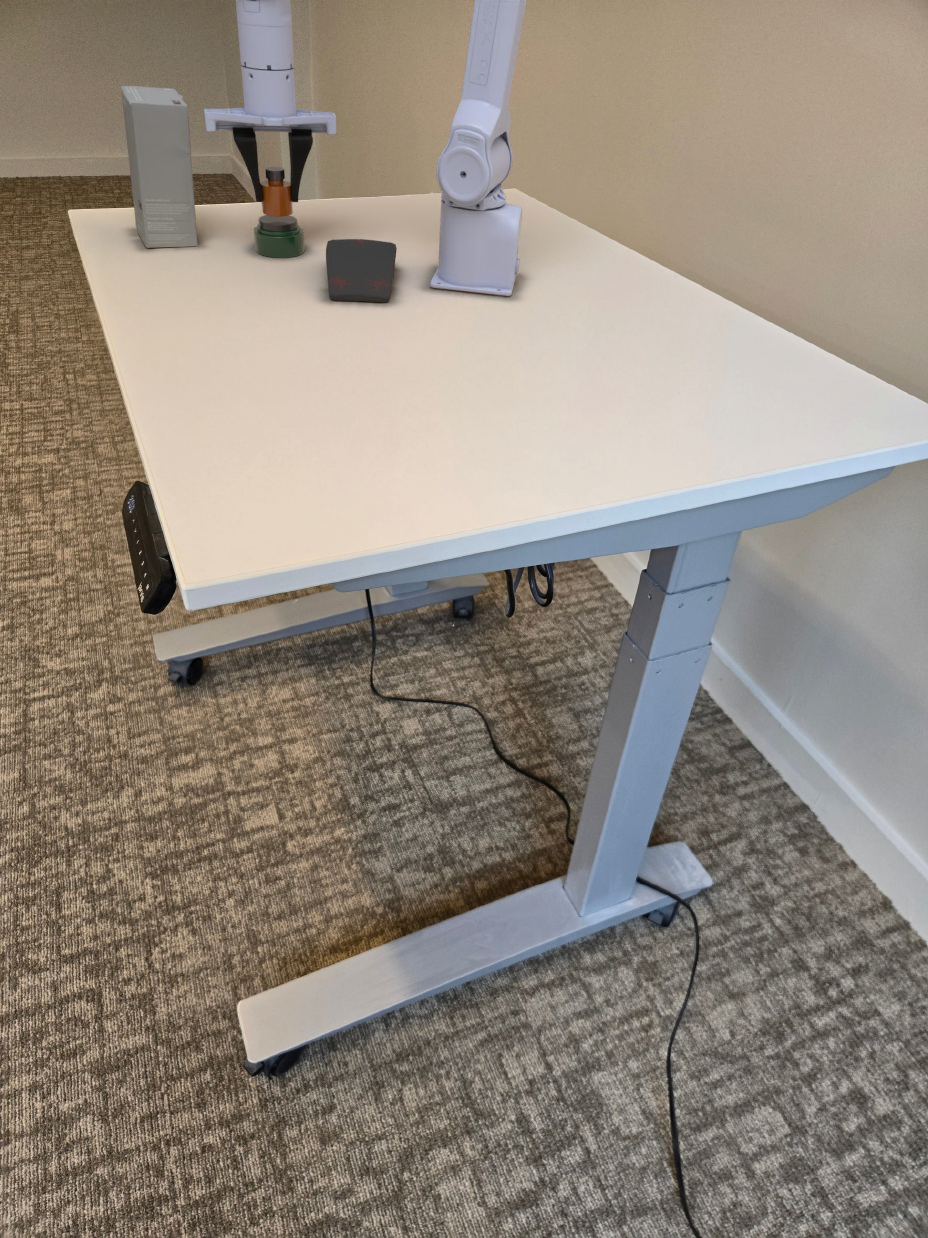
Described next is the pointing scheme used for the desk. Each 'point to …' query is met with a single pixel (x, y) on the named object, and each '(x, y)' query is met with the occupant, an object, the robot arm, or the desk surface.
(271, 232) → the green jar with lid
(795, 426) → the desk surface
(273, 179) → the amber bottle
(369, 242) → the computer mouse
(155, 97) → the cosmetic box
